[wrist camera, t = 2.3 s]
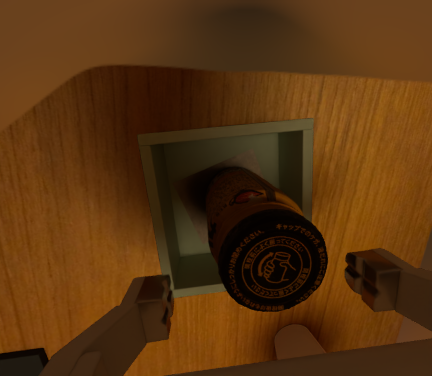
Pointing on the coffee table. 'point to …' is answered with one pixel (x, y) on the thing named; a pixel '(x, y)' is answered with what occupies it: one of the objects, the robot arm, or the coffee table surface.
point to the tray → (202, 159)
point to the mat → (23, 363)
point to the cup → (296, 342)
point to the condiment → (254, 234)
